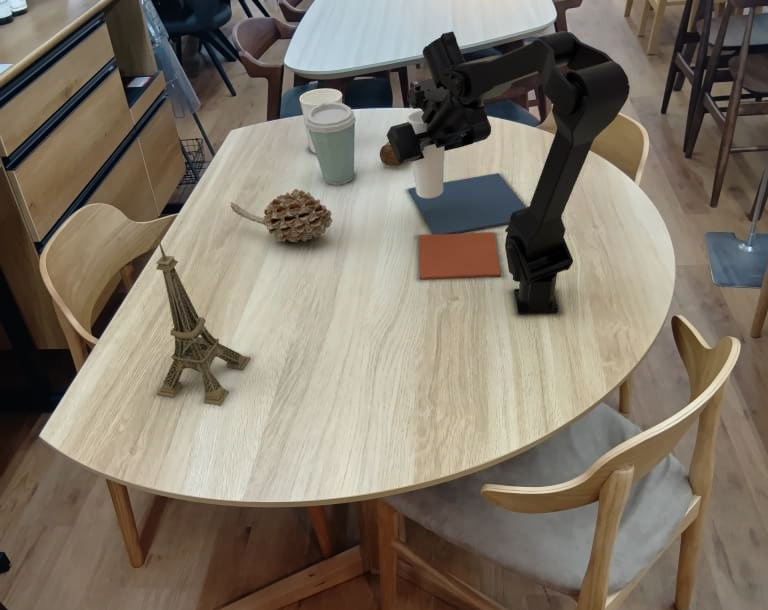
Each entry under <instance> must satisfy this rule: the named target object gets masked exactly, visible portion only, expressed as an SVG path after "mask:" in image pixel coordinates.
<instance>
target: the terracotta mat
mask: <svg viewBox="0 0 768 610" xmlns="http://www.w3.org/2000/svg"><path fill="white" fill-rule="evenodd" d="M489 277H490V278H491V277H501V268H500V263H499V257H498V251H497V243H496V238H495V233H494V231H491V232H462V233H456V234H438V235H433V234H420V235H419V280H428V279H429V280H431V279H459V278H460V279H461V278H462V279H463V278H489Z"/></svg>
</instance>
